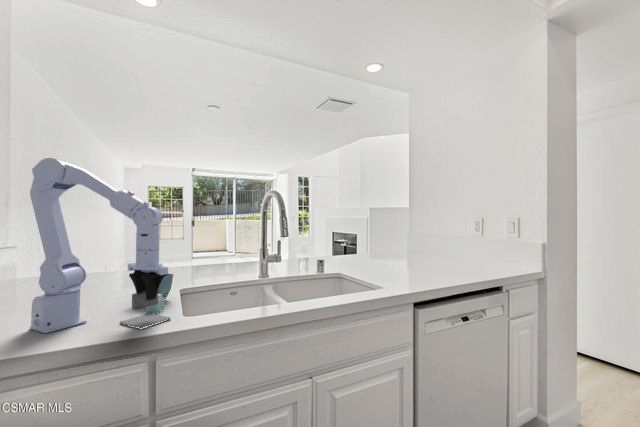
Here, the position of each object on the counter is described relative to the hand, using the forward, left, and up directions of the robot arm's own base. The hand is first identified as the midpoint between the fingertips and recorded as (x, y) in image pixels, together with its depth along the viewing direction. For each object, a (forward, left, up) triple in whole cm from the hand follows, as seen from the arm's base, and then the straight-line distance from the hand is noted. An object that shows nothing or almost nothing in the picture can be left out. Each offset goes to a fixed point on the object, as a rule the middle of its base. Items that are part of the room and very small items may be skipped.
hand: (146, 298), depth 86 cm
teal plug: (+8, +7, -7) cm, 13 cm away
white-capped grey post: (0, 0, -2) cm, 2 cm away
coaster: (0, 0, -6) cm, 6 cm away
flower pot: (+15, +17, -7) cm, 24 cm away
